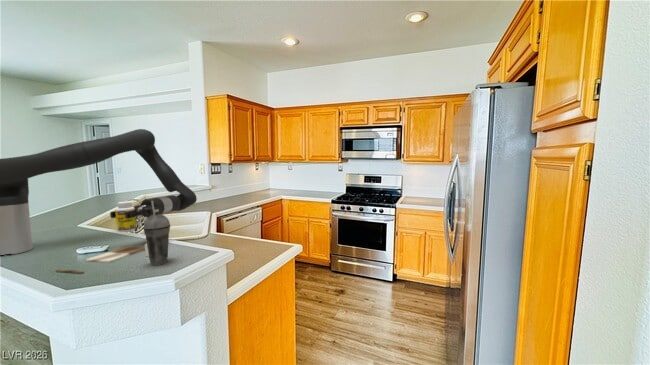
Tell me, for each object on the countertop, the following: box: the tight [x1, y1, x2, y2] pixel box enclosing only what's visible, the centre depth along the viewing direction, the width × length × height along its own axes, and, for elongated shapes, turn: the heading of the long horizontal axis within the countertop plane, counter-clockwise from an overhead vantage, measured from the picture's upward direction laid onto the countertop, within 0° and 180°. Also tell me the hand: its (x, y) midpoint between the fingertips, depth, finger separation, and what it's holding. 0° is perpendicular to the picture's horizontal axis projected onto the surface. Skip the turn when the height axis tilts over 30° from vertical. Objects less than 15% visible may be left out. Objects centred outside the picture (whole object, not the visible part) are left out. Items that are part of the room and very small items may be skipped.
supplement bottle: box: [114, 200, 137, 233], centre depth 95 cm, size 6×6×10 cm
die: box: [144, 243, 149, 257], centre depth 92 cm, size 4×4×4 cm
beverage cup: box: [142, 201, 171, 267], centre depth 83 cm, size 7×7×20 cm
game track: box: [55, 245, 145, 275], centre depth 88 cm, size 9×22×1 cm, turn 170°
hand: (119, 215), depth 92 cm, fingers closed on supplement bottle, 5 cm apart
